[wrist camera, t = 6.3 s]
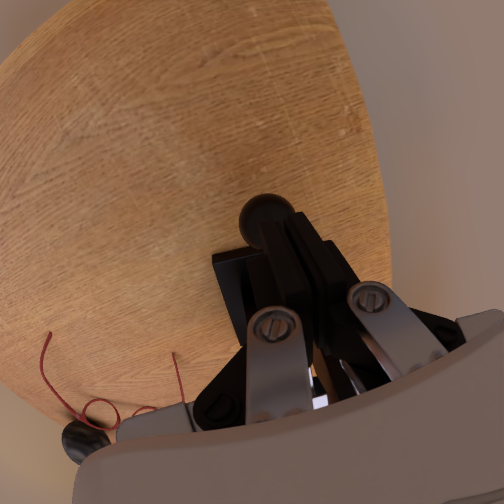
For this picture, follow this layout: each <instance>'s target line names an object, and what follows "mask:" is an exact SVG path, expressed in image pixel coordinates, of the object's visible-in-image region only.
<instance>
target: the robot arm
mask: <svg viewBox="0 0 504 504" xmlns="http://www.w3.org/2000/svg"><path fill="white" fill-rule="evenodd" d="M258 225H259V231H260V236H261V241H262V247H263V252H264V255H263V256H259V257H255V258H250V259H246V262H247V267H248V271H249V276H250V280H251V285H252V289H253V294H254V298H255V303H256V307H257V313H255V314H254V315H253V316H252V318H251V319H250V321H249V323H248V327H247V342H246V343H245V344H244V345H243V347H242V348H241V349H240V350H239V351H238V352H237V353H236V355H235V356H234V357H233V358H232V359H231V360H230V361H229V362H228V364H227V365H226V366H225V367H224V368H223V369H222V370H221V371H220V372H219V374H218V375H217V376H216V377H215V378H214V379H213V380H212V381H211V382H210V383H209V384H208V386H207V387H206V388H205V389H204V390H203V391H202V392H201V393H200V394H199V395H198V397H197V398H196V400H195V401H192V402H189V403H185V402H184V401H183V402H180V403H177V404H174V405H170V406H167V407H164V408H160V409H157V410H154V411H150V412H147V413H143V414H139V415H135V416H132V417H129V418H127V419H124V420H123V421H122V422H121V423H120V424H119V426H118V428H117V430H116V442H117V443H114V444H111V445H108V446H106V447H103V448H101V449H99V450H97V451H95V452H94V453H92V454H90V455H89V456H88V457H87V458H85V459H84V460H83V462H82V463H81V465H80V467H79V468H78V471H77V474H76V478H75V482H74V488H73V497H72V504H504V313H503V312H502V311H500V310H497V309H491V310H488V311H484V312H481V313H477V314H473V315H469V316H465V317H460V318H456V320H455V322H453V321H452V320H449V319H447V318H444V317H440V316H437V315H433V314H430V313H427V312H423V311H420V310H417V309H413V308H410V307H407V306H406V304H404V302H403V301H402V300H401V299H400V298H399V297H398V296H397V295H396V294H395V293H394V292H393V291H392V290H391V289H390V288H389V287H387V286H386V285H385V284H382V283H380V282H376V281H363V282H360V280H359V279H358V277H357V276H356V274H355V273H354V271H353V270H352V268H351V267H350V265H349V264H348V262H347V261H346V260H345V258H344V257H343V255H342V254H341V252H340V251H339V250H338V248H337V247H336V245H335V244H334V243H333V241H332V240H327V241H323V240H322V239H321V238H320V236H319V235H318V233H317V232H316V230H315V229H314V227H313V226H312V224H311V223H310V221H309V220H308V219H307V217H306V216H305V214H304V213H303V212H297V213H292V214H288V215H287V219H283V226H284V229H283V227H282V225H281V223H280V221H279V220H278V221H274V220H273V218H269V219H265V220H260V221H258ZM313 340H314V342H315V345H316V347H317V349H320V348H322V349H323V351H324V354H325V356H327V355H330V354H331V355H332V357H335V358H337V359H340V363H341V365H342V367H343V369H344V370H345V372H346V374H347V375H348V377H349V378H350V380H351V382H352V383H353V385H354V387H355V388H356V390H357V391H358V393H359V395H357V396H354V397H351V398H348V399H346V400H343V401H340V402H337V403H334V404H330V405H327V406H324V407H321V408H317V409H314V407H313V399H312V391H311V384H310V376H309V368H310V366H311V365H312V363H313Z"/></svg>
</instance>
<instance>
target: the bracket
mask: <svg viewBox="0 0 504 504" xmlns="http://www.w3.org/2000/svg"><path fill="white" fill-rule="evenodd" d="M263 255H264V253H263V252H262V251H258V250H256V249H254V248H252V247H251V246H250V247H245V248H241V249H237V250H232V251H228V252H224V253H219V254H215V255H212V265H213V268H214V271H215V274H216V277H217V280H218V283H219V286H220V289H221V292H222V295H223V298H224V301H225V304H226V307H227V310H228V312H229V315H230V318H231V321H232V324H233V327H234V329H235V332H236V335H237V338H238V340H239V343H240V346H243V345H244V344H245V343H246V342H247V327H248V323H249V321H250V319H251V318H252V316H253V315H254V314H255V313H257V307H256V303H255V298H254V294H253V289H252V285H251V280H250V276H249V271H248V267H247V262H246V259H250V258H255V257H259V256H263ZM313 366H314V369H315V372H316V375H317V377H318V378H319V380H320V382H321V383H322V385H323V387H324V389H325V390H326V392H327V394H328V401H329V405H330V404H334V403H337V402H340V401H343V400H346V399H348V398H351V397H354V396H357V391H356V388H355V387H354V385H353V383H352V382H351V380H350V378H349V377H348V375H347V374H346V372H345V370H344V369H343V367H342V365H341V363H340V359H337V358H335V357H332V355H331V354H330V355H327V356H325V354H324V351H323V349H322V348H320V349H317V347H316V345H315V342H314V340H313Z"/></svg>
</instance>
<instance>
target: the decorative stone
mask: <svg viewBox="0 0 504 504" xmlns="http://www.w3.org/2000/svg"><path fill="white" fill-rule="evenodd" d="M88 422H89V423H90V424H92V425H94V426H96V427H99V426H97V425H96V424H94V423H92V422H90V421H88ZM99 428H100V427H99ZM62 444H63V448H64V450H65V452H66V454H67V455H68V456H69V458H70V459H71V460H73V461H74V462H75V463H77V464H78V465H81V463H82V462H83V460H84V459H85V458H87V457H88V456H89V455H90V454H92V453H94V452H95V451H97V450H99V449H101V448H103V447H106V446H108V445H111V442H110V440H109V438H108V436H107V435H106V433H105V432H104V431H103V430H100V429H97V428H94V427H92V426H89V425H88V424H86V423H84V422H82V421H80V420H76V421H73V422H71V423H69V424H68V425H67V426H66V427H65V428H64V430H63V433H62Z"/></svg>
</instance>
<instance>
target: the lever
mask: <svg viewBox="0 0 504 504" xmlns="http://www.w3.org/2000/svg"><path fill="white" fill-rule="evenodd" d="M292 213H296V212H295V210H294V208H293V206H292V205H291V204H290V202H289V201H287V200H286V199H285V198H283V197H281V196H279V195H276V194H271V193H265V194H260V195H257V196H255V197H253V198H251V199H250V200H249V201H248V202H247V203H246V204H245V205H244V207H243V208H242V210H241V213H240V216H239V230H240V233H241V235H242V237H243V239H244V240H245V241H246V243H247V244H248V245H249V246H251V247H252V248H254V249H256V250H258V251H262V252H263V247H262V241H261V236H260V231H259V225H258V221H260V220H265V219H269V218H273V220H274V221H278V220H279V221H280V223H281V225H282V227H283V229H284V226H283V219H287V215H288V214H292ZM263 253H264V252H263ZM309 376H310V384H311V391H312V399H313V407H314V409H317V408H321V407H324V406H327V405H329V401H328V394H327V392H326V390H325V389H324V387H323V385H322V383H321V382H320V380H319V378H318V377H317V376H315V377H312V371H311V366H310V368H309Z"/></svg>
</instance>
